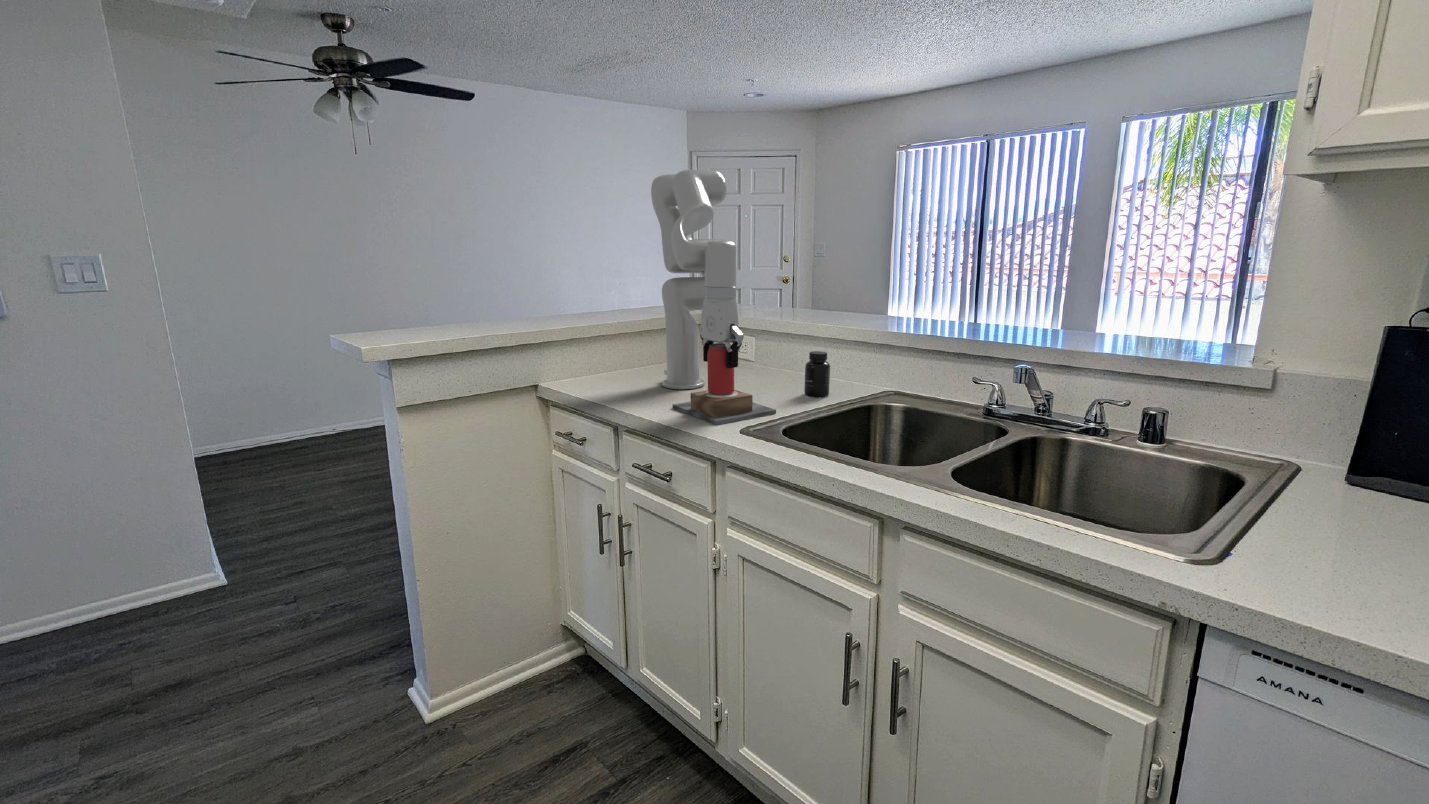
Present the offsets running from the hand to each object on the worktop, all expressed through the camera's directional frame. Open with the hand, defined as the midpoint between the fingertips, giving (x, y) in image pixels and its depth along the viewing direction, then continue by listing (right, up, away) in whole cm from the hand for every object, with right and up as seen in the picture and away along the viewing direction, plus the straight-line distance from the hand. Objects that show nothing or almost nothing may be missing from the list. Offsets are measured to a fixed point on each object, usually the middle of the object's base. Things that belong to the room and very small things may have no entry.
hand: (720, 364), depth 164 cm
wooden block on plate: (+1, -12, +5) cm, 13 cm away
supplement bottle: (+27, -8, +21) cm, 35 cm away
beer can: (0, -7, +2) cm, 7 cm away
